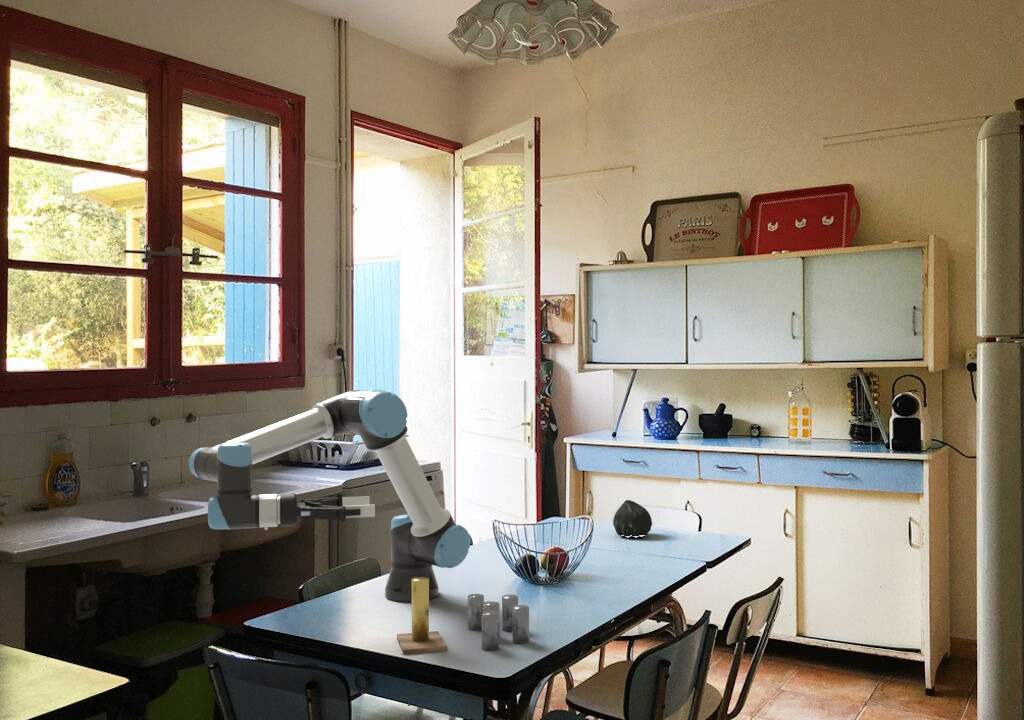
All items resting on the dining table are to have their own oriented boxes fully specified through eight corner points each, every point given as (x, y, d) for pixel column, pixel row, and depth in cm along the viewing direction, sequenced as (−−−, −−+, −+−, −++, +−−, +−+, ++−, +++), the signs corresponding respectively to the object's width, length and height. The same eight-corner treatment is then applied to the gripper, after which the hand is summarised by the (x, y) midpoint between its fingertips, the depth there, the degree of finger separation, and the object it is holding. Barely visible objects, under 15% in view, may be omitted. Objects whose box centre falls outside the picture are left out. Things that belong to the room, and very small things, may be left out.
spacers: (466, 626, 218) (466, 594, 218) (513, 622, 221) (512, 591, 221) (484, 651, 198) (483, 616, 198) (534, 647, 201) (534, 612, 201)
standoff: (410, 636, 206) (410, 577, 206) (427, 635, 207) (427, 576, 207) (413, 642, 202) (412, 581, 202) (430, 640, 203) (429, 580, 203)
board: (396, 638, 208) (396, 634, 208) (438, 635, 211) (438, 631, 211) (403, 654, 197) (403, 649, 197) (446, 650, 199) (446, 646, 199)
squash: (657, 519, 339) (631, 490, 340) (660, 527, 324) (633, 497, 325) (630, 543, 340) (604, 514, 341) (631, 552, 325) (604, 522, 326)
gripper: (279, 517, 213) (367, 513, 218) (278, 536, 189) (377, 531, 194) (279, 487, 213) (367, 483, 218) (278, 501, 189) (377, 497, 194)
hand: (372, 506), depth 206 cm, fingers open, 13 cm apart
